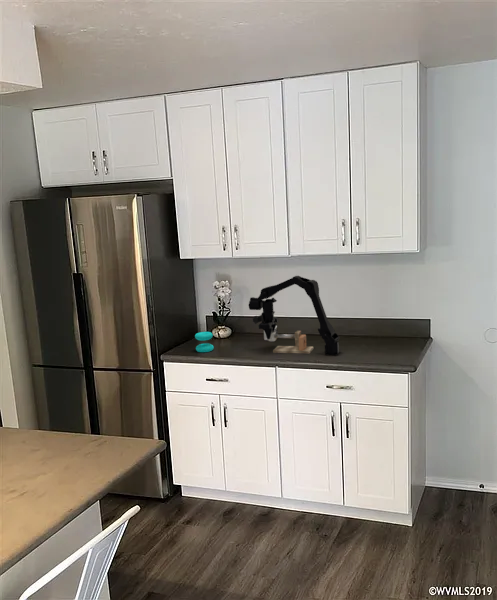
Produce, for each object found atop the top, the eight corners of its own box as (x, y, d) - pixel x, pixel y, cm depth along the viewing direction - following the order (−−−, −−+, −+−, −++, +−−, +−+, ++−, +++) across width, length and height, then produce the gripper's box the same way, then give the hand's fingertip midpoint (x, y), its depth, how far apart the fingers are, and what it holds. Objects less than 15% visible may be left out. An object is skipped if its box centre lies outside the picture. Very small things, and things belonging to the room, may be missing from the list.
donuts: (191, 333, 339) (207, 330, 344) (193, 350, 341) (208, 347, 346) (199, 336, 331) (215, 333, 336) (200, 353, 332) (217, 350, 337)
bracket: (313, 348, 328) (312, 329, 327) (309, 353, 319) (308, 334, 317) (278, 347, 335) (277, 329, 333) (273, 352, 325) (272, 333, 324)
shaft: (295, 339, 327) (295, 330, 327) (293, 341, 324) (293, 332, 323) (270, 339, 332) (270, 330, 331) (268, 341, 328) (268, 332, 327)
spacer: (306, 347, 328) (305, 334, 327) (303, 350, 321) (303, 337, 320) (302, 347, 329) (301, 334, 327) (299, 350, 322) (298, 337, 321)
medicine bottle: (276, 340, 353) (275, 320, 351) (264, 340, 355) (263, 320, 353) (278, 337, 360) (277, 317, 358) (266, 337, 362) (265, 317, 360)
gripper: (259, 307, 339) (260, 334, 341) (248, 313, 321) (250, 342, 324) (278, 307, 335) (279, 334, 338) (268, 313, 318) (270, 342, 320)
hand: (269, 338), depth 330 cm, fingers closed on shaft, 4 cm apart
